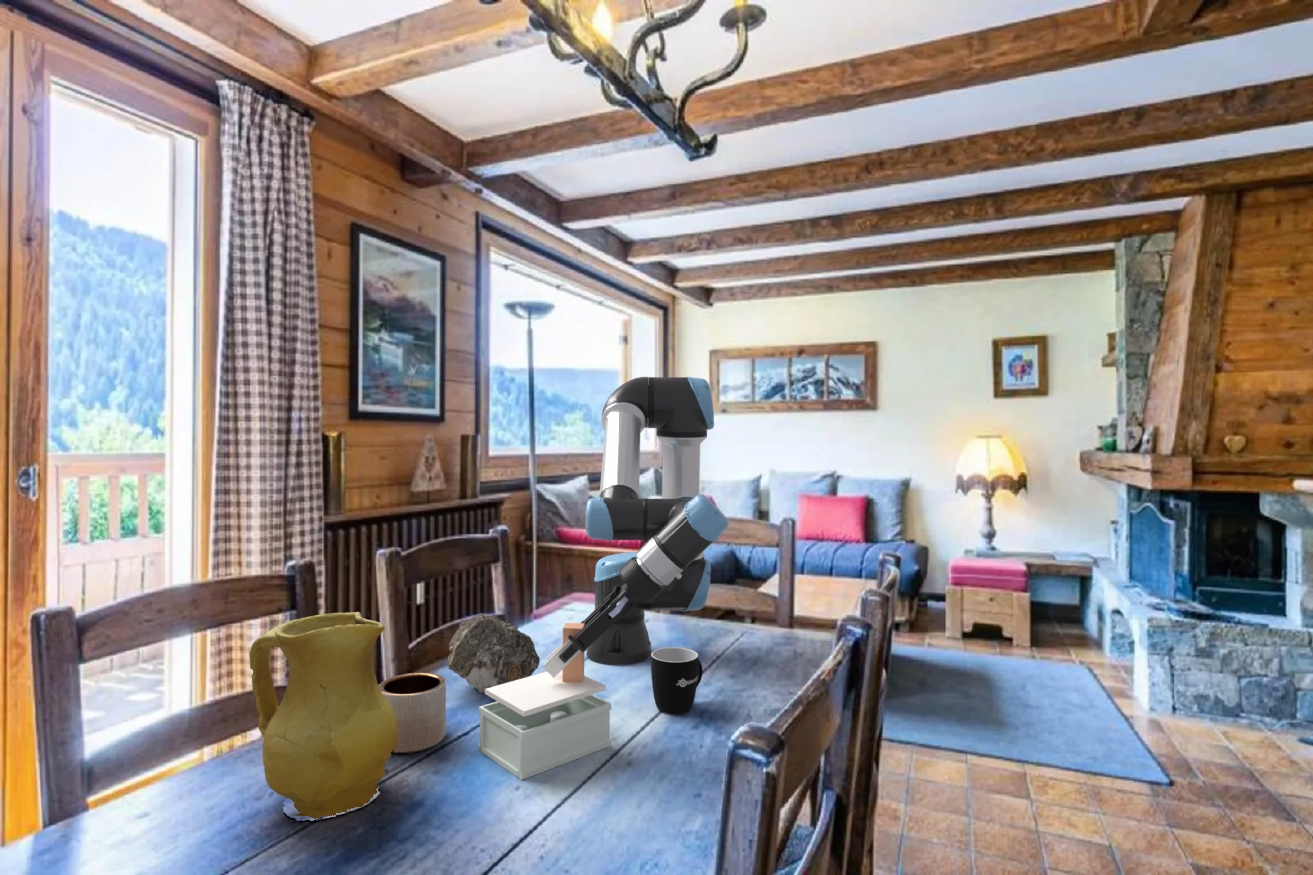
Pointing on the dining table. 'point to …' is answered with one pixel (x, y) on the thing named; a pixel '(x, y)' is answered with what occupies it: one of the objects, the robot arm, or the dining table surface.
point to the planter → (417, 709)
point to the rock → (491, 652)
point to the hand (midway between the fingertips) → (550, 667)
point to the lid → (548, 685)
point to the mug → (675, 678)
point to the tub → (544, 734)
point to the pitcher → (324, 713)
